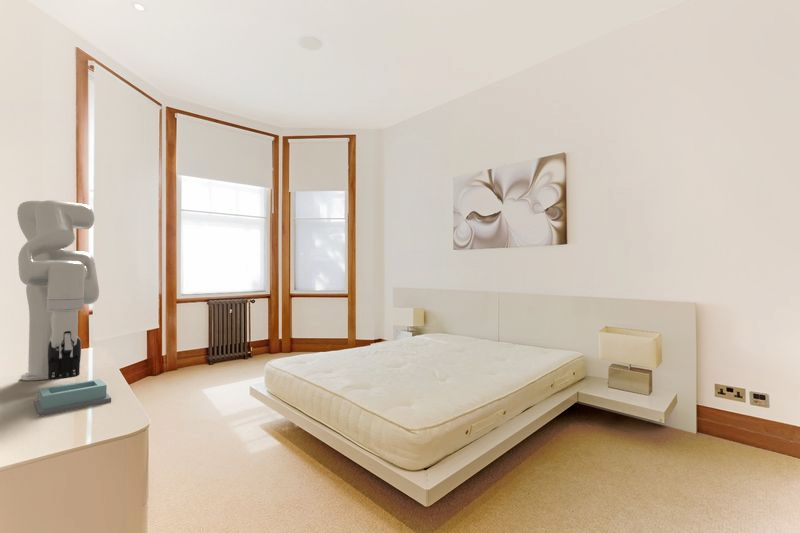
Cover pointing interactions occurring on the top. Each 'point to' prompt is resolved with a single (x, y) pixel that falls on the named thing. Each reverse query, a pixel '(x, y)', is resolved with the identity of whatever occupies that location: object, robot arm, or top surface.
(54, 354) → the battery charger
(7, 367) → the top surface
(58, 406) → the dock
